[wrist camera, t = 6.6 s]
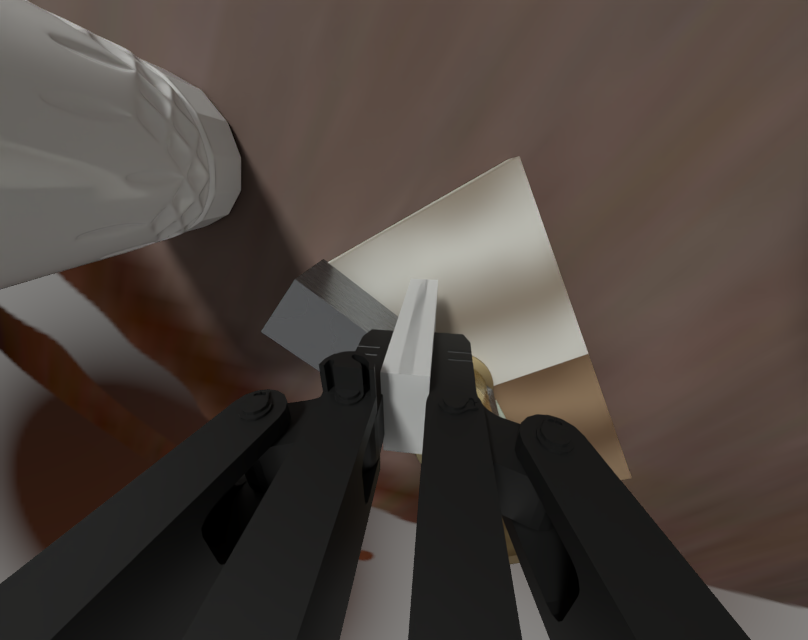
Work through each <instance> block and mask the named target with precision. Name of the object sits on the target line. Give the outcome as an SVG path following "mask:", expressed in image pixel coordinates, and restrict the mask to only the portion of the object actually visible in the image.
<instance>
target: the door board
mask: <svg viewBox="0 0 808 640" xmlns="http://www.w3.org/2000/svg"><path fill="white" fill-rule="evenodd" d="M328 263H329V264H331V265H332V266H333V267H334V268H336V269H337V270H338V271H340V272H341V273H342V274H344V275H345V276H346V277H347V278H349V279H350V280H351V281H353V282H354V283H355V284H356V285H358V286H359V287H360V288H362V289H363V290H364V291H366V292H367V293H368V294H369V295H371V296H372V297H373V298H375V299H376V300H377V301H378V302H380V303H381V304H382V305H384V306H385V307H386V308H388V309H389V310H390V311H391V312H393V313H394V314H395V315H397V316H398V317H399V314H400V311H401V308H402V305H403V301H404V298H405V295H406V292H407V289H408V286H409V283H410V280H411V279H430V280H438V292H437V309H436V326H435V332H437V333H452V334H463V335H464V336H465V337H466V338H467V339H468V340H469V342H470V343H471V351H472V359H473V367H474V369H475V370H476V371H478V372H479V373H480V374H481V376H482V377H483V379H484V380H485V383H486V385H487V386H489V387H490V388H491V389H492V390H493V393H494V397H495V401H496V405H497V409H498V413H499V416H500V417H502V418H504V419H507V420H510V421H513V422H516V423H519V424H521V422H522V421H523V420H525V419H526V418H527V417H529V416H532V415H536V414H542V415H551V416H554V417H557V418H560V419H563V420H564V421H566V422H568V423H570V424H571V425H573V426H575V427H576V428H577V429H578V430H579V431H580V432H581V433H582V434H583V435H584V436H585V437H586V438H587V440H588V441H589V442H590V443H591V444H592V446H593V447H594V448H595V449H596V451H597V452H598V453H599V454H600V456H601V457H602V458H603V459H604V460H605V462H606V463H607V464H608V465H609V467H610V468H611V469H612V470H613V471H614V473H615V474H616V475H617V476H618V478H619V479H620V480H624V479H629V478H632V477H631V475H630V472H629V469H628V466H627V463H626V460H625V457H624V455H623V452H622V449H621V446H620V443H619V440H618V437H617V434H616V432H615V429H614V426H613V423H612V420H611V417H610V414H609V412H608V409H607V406H606V403H605V400H604V397H603V394H602V392H601V389H600V386H599V383H598V380H597V377H596V374H595V371H594V369H593V366H592V363H591V360H590V357H589V354H588V351H587V349H586V346H585V343H584V340H583V337H582V334H581V331H580V329H579V326H578V323H577V320H576V317H575V314H574V311H573V308H572V306H571V303H570V300H569V297H568V294H567V291H566V288H565V286H564V283H563V280H562V277H561V274H560V271H559V268H558V266H557V263H556V260H555V257H554V254H553V251H552V248H551V245H550V243H549V240H548V237H547V234H546V231H545V228H544V225H543V223H542V220H541V217H540V214H539V211H538V208H537V205H536V203H535V200H534V197H533V194H532V191H531V188H530V185H529V182H528V180H527V177H526V174H525V171H524V168H523V165H522V162H521V160H520V157H515V158H511V159H508V160H506V161H505V162H503V163H501V164H499V165H498V166H496V167H494V168H492V169H490V170H489V171H487V172H485V173H483V174H482V175H480V176H478V177H476V178H475V179H473V180H471V181H469V182H468V183H466V184H464V185H462V186H461V187H459V188H457V189H455V190H454V191H452V192H450V193H448V194H447V195H445V196H443V197H441V198H440V199H438V200H436V201H434V202H433V203H431V204H429V205H427V206H426V207H424V208H422V209H420V210H419V211H417V212H415V213H413V214H412V215H410V216H408V217H406V218H405V219H403V220H401V221H399V222H398V223H396V224H394V225H392V226H391V227H389V228H387V229H385V230H384V231H382V232H380V233H378V234H377V235H375V236H373V237H371V238H370V239H368V240H366V241H364V242H363V243H361V244H359V245H357V246H356V247H354V248H352V249H350V250H349V251H347V252H345V253H343V254H342V255H340V256H338V257H336V258H335V259H333V260H331V261H329V262H328ZM502 521H503V519H502ZM503 527H504V533H505V539H506V545H507V551H508V557H509V563H510V564H514V563H520V562H519V559H518V557H517V554H516V552H515V549H514V547H513V544H512V542H511V539H510V536H509V534H508V531H507V529H506V526H505V524H504V521H503Z"/></svg>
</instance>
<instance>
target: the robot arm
mask: <svg viewBox="0 0 808 640" xmlns="http://www.w3.org/2000/svg"><path fill="white" fill-rule="evenodd" d="M437 292H438V280H430V279H411V280H410V283H409V286H408V289H407V292H406V295H405V298H404V301H403V305H402V308H401V311H400V314H399V317H398V320H397V323H396V326H395V329H394V331H392V330H377V329H372V330H370V331H369V332H368V333H366V334H365V335H364V336H363V337H362V339H361V341H360V343H359V345H358V347H357V349H356V351H344V352H340V353H336V354H333V355H331V356H329V357H327V358H325V359H324V360H323V361H322V362H321V363H320V364H319V370H320V376H321V382H322V388H323V393H322V395H321V397H319V398H316V399H312V400H307V401H300V402H294V403H287V400H286V398H285V395H284V394H282V393H281V392H279V391H276V390H269V389H267V390H259V391H255V392H252V393H249V394H246V395H244V396H243V397H241V398H240V399H238V400H236V401H235V402H233V403H232V404H231V405H230V406H228V407H227V408H226V409H224V410H223V411H222V412H221V413H219V414H218V415H217V416H215V417H214V418H213V419H212V420H210V421H209V422H208V423H206V424H205V425H204V426H203V427H201V428H200V429H199V430H197V431H196V432H195V433H194V434H192V435H191V436H190V437H189V438H187V439H186V440H185V441H183V442H182V443H181V444H179V445H178V446H177V447H176V448H174V449H173V450H172V451H170V452H169V453H168V454H167V455H165V456H164V457H163V458H161V459H160V460H159V461H158V462H156V463H155V464H154V465H152V466H151V467H150V468H149V469H147V470H146V471H145V472H144V473H142V474H141V475H140V476H138V477H137V478H136V479H135V480H133V481H132V482H131V483H129V484H128V485H127V486H125V487H124V488H123V489H122V490H120V491H119V492H118V493H116V494H115V495H114V496H113V497H111V498H110V499H109V500H107V501H106V502H105V503H104V504H102V505H101V506H100V507H98V508H97V509H96V510H95V511H93V512H92V513H91V514H89V515H88V516H87V517H86V518H84V519H83V520H82V521H81V522H79V523H78V524H77V525H75V526H74V527H73V528H72V529H70V530H69V531H68V532H66V533H65V534H64V535H62V536H61V537H60V538H59V539H57V540H56V541H55V542H53V543H52V544H51V545H50V546H48V547H47V548H46V549H44V550H43V551H42V552H41V553H39V554H38V555H37V556H35V557H34V558H33V559H32V560H30V561H29V562H28V563H26V564H25V565H24V566H23V567H21V568H20V569H19V570H17V571H16V572H15V573H14V574H12V575H11V576H10V577H8V578H7V579H6V580H5V581H3V582H2V583H1V584H0V640H339V639H340V635H341V631H342V627H343V623H344V618H345V614H346V610H347V606H348V601H349V597H350V593H351V589H352V585H353V581H354V576H355V572H356V568H357V564H358V560H359V555H360V551H361V546H362V542H363V539H364V534H365V530H366V526H367V522H368V517H369V513H370V509H371V505H372V501H373V496H374V492H375V488H376V484H377V480H378V475H379V471H380V452H381V447H382V443H383V444H384V450H388V451H397V452H405V453H415V454H422V462H421V475H420V488H419V502H418V515H417V529H416V542H415V556H414V570H413V583H412V596H411V609H410V610H411V611H410V623H409V635H408V640H522V636H521V630H520V624H519V619H518V612H517V606H516V600H515V594H514V588H513V582H512V575H511V569H510V563H509V557H508V551H507V545H506V539H505V533H504V527H503V521H504V524H505V526H506V529H507V531H508V534H509V536H510V539H511V542H512V544H513V547H514V549H515V552H516V554H517V557H518V559H519V562H520V564H521V567H522V569H523V572H524V575H525V577H526V580H527V582H528V585H529V587H530V590H531V592H532V595H533V597H534V600H535V602H536V605H537V608H538V610H539V613H540V615H541V618H542V620H543V623H544V626H545V628H546V631H547V633H548V636H549V638H550V640H751V639H750V638H749V637H748V636H747V635H746V633H745V632H744V631H743V630H742V628H741V627H740V626H739V625H738V623H737V622H736V621H735V620H734V619H733V617H732V616H731V615H730V614H729V612H728V611H727V610H726V609H725V608H724V606H723V605H722V604H721V603H720V602H719V600H718V599H717V598H716V597H715V595H714V594H713V593H712V592H711V590H710V589H709V588H708V587H707V585H706V584H705V583H704V582H703V581H702V579H701V578H700V577H699V576H698V574H697V573H696V572H695V571H694V570H693V568H692V567H691V566H690V565H689V563H688V562H687V561H686V560H685V558H684V557H683V556H682V555H681V554H680V552H679V551H678V550H677V549H676V547H675V546H674V545H673V544H672V543H671V541H670V540H669V539H668V538H667V536H666V535H665V534H664V533H663V532H662V530H661V529H660V528H659V527H658V525H657V524H656V523H655V522H654V520H653V519H652V518H651V517H650V516H649V514H648V513H647V512H646V511H645V509H644V508H643V507H642V506H641V505H640V503H639V502H638V501H637V500H636V498H635V497H634V496H633V495H632V494H631V492H630V491H629V490H628V489H627V487H626V486H625V485H624V484H623V482H622V481H621V480H620V479H619V478H618V476H617V475H616V474H615V473H614V471H613V470H612V469H611V468H610V467H609V465H608V464H607V463H606V462H605V460H604V459H603V458H602V457H601V456H600V454H599V453H598V452H597V451H596V449H595V448H594V447H593V446H592V444H591V443H590V442H589V441H588V440H587V438H586V437H585V436H584V435H583V434H582V433H581V432H580V431H579V430H578V429H577V428H576V427H575V426H573V425H571V424H570V423H568V422H566V421H564V420H563V419H560V418H557V417H554V416H551V415H542V414H536V415H532V416H529V417H527V418H526V419H525V420H523V421H522V422H521V424H519V423H516V422H513V421H510V420H507V419H504V418H502V417H500V416H497V415H495V414H494V413H492V412H491V411H489V410H488V409H487V408H486V407H485V406H484V405H483V404H482V402H481V400H480V398H479V397H478V395H477V391H476V383H475V375H474V367H473V359H472V351H471V343H470V342H469V340H468V339H467V338H466V337H465V336H464V335H463V334H452V333H437V332H435V326H436V309H437ZM502 519H503V521H502Z"/></svg>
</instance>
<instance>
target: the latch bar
mask: <svg viewBox="0 0 808 640" xmlns="http://www.w3.org/2000/svg"><path fill="white" fill-rule="evenodd" d="M397 320H398V316H397V315H395V314H394V313H393V312H391V311H390V310H389V309H388V308H386V307H385V306H384V305H382V304H381V303H380V302H378V301H377V300H376V299H375V298H373V297H372V296H371V295H369V294H368V293H367V292H366V291H364V290H363V289H362V288H360V287H359V286H358V285H356V284H355V283H354V282H353V281H351V280H350V279H349V278H347V277H346V276H345V275H344V274H342V273H341V272H340V271H338V270H337V269H336V268H334V267H333V266H332V265H331V264H329V263H328V262H327V261H325V260H324V259H323V260H321V261H320V262H319V263H317V264H316V265H314V266H313V267H312V268H310V269H309V270H307V271H306V272H304V273H303V274H302V275H300V276H299V277H297V278H296V279H295V280H294V281H293V283H292V285H291V286H290V288H289V289H288V291H287V292H286V294H285V295H284V297H283V298H282V300H281V301H280V303H279V305H278V306H277V308H276V309H275V311H274V312H273V314H272V315H271V317H270V318H269V320H268V322H267V323H266V325H265V326H264V328H263V329H262V331H261V332H262V333H263V334H265V335H266V336H268V337H269V338H271V339H272V340H274V341H275V342H277V343H278V344H280V345H281V346H283V347H284V348H286V349H287V350H289V351H290V352H291V353H293V354H294V355H296V356H297V357H299V358H300V359H302V360H303V361H305V362H306V363H308V364H309V365H311V366H312V367H314V368H315V369H317V370H318V371H320V370H319V364H320V363H321V362H322V361H323V360H324V359H325V358H327V357H329V356H331V355H333V354H336V353H340V352H344V351H356V349H357V347H358V345H359V343H360V341H361V339H362V337H363V336H364V335H365V334H366V333H368V332H369V331H370V330H372V329H377V330H392V331H394V329H395V326H396V323H397ZM474 375H475V383H476V391H477V395H478V397H479V398H480V400H481V402H482V404H483V405H484V406H485V407H486V408H487V409H488V410H489V411H491V412H492V413H494V414H495V415H497V416H499V413H498V409H497V405H496V401H495V397H494V393H493V390H492V389H491V388H490V387H489V386H487V385H486V383H485V380H484V379H483V377H482V376H481V374H480V373H479V372H478V371H476V370H475V369H474ZM416 456H417V458H418V460H419V462H420V463H421V462H422V454H416Z"/></svg>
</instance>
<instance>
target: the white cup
mask: <svg viewBox="0 0 808 640" xmlns="http://www.w3.org/2000/svg"><path fill="white" fill-rule="evenodd" d="M240 192H241V156H240V154H239V151H238V148H237V146H236V143H235V140H234V138H233V135H232V132H231V129H230V127H229V124H228V122H227V121H226V120H225V118H224V117H223V116H222V115H221V113H220V112H219V111H218V110H217V108H216V107H215V106H214V105H213V104H212V102H211V101H210V100H209V99H208V97H207V96H206V95H205V94H204V92H203V91H202V90H200V89H199V88H197V87H195V86H193V85H192V84H190V83H188V82H186V81H185V80H183V79H181V78H179V77H178V76H176V75H174V74H173V73H171V72H169V71H167V70H165V69H163V68H161V67H158V66H156V65H154V64H152V63H149V62H147V61H145V60H142V59H140V58H138V57H137V56H136V55H134V54H133V53H132V52H130V51H129V50H127V49H125V48H123V47H121V46H119V45H117V44H115V43H113V42H111V41H109V40H107V39H104V38H102V37H100V36H98V35H95V34H94V33H92V32H90V31H88V30H87V29H84V28H82V27H80V26H78V25H76V24H74V23H72V22H70V21H68V20H66V19H64V18H62V17H59V16H57V15H55V14H53V13H51V12H48V11H46V10H44V9H42V8H40V7H38V6H36V5H34V4H33V3H31V2H29V1H28V0H0V289H3V288H7V287H10V286H14V285H17V284H21V283H24V282H27V281H31V280H34V279H37V278H41V277H44V276H48V275H51V274H55V273H58V272H61V271H65V270H68V269H72V268H75V267H79V266H82V265H85V264H89V263H92V262H96V261H99V260H103V259H106V258H110V257H113V256H116V255H120V254H123V253H127V252H130V251H133V250H136V249H139V248H142V247H145V246H148V245H150V244H153V243H157V242H160V241H164V240H167V239H170V238H173V237H175V236H178V235H180V234H183V233H184V232H187V231H190V230H194V229H198V228H202V227H205V226H208V225H210V224H212V223H214V222H215V221H217V220H219V219H221V218H223V217H225V216H226V215H228V214H229V213H230V211H231V209H232V207H233V205H234V203H235V201H236V199H237V197H238V195H239V194H240Z"/></svg>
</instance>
